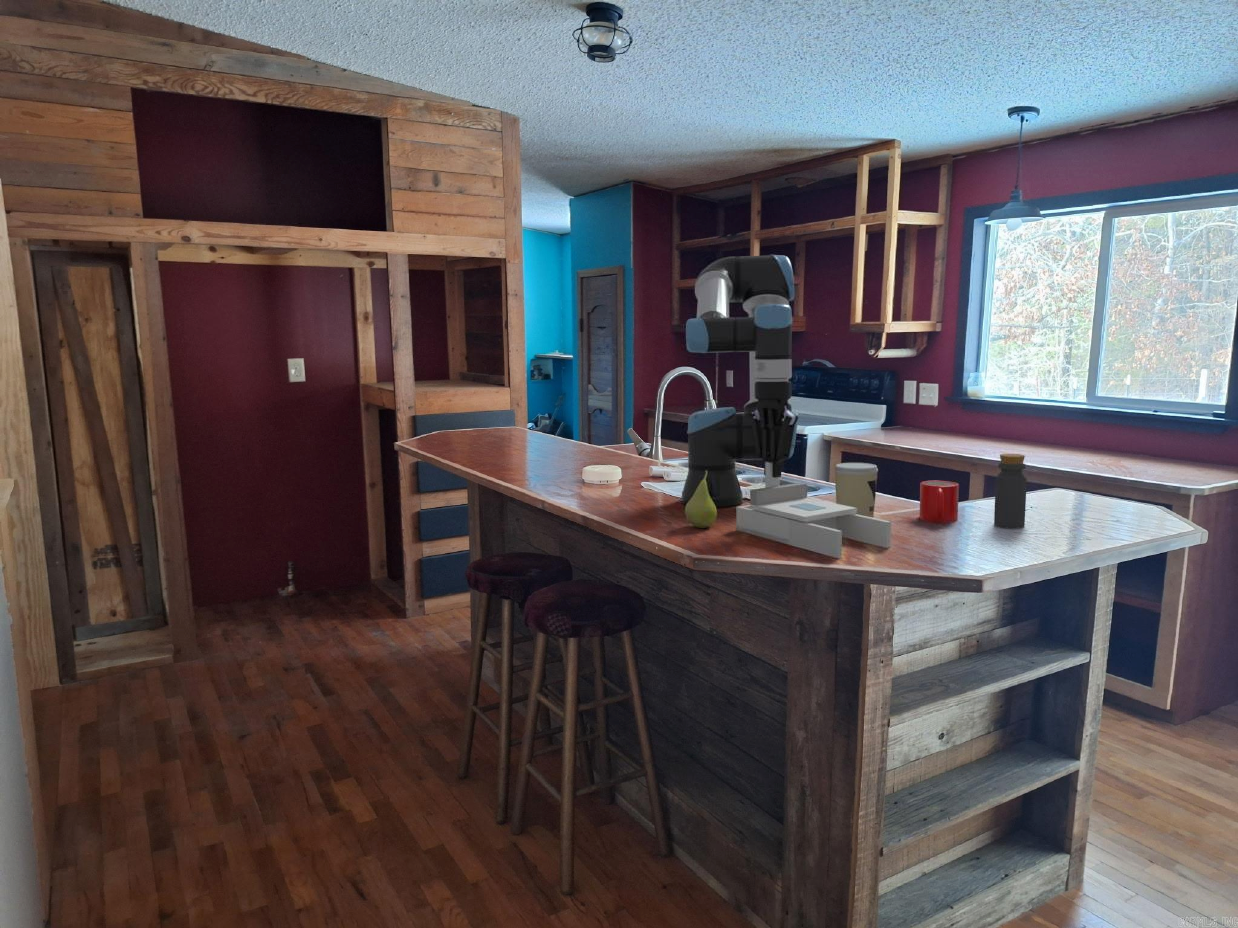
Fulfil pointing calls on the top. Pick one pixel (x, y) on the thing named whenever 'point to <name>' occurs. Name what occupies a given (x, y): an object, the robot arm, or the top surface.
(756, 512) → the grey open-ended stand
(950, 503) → the mug
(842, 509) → the lid
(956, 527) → the top surface
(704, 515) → the fruit
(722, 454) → the robot arm
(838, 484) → the coffee cup
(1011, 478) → the bottle
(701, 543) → the top surface
